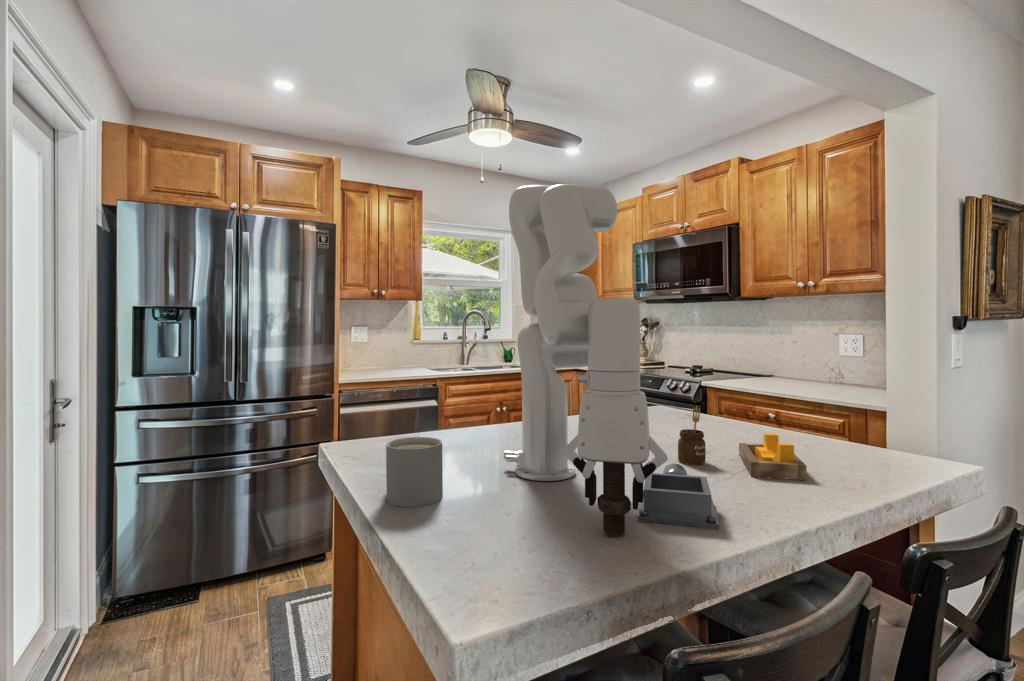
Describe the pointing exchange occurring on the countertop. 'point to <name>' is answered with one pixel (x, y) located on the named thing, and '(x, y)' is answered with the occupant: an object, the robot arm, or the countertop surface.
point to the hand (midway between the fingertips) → (613, 503)
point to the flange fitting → (677, 499)
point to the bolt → (614, 499)
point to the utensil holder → (692, 444)
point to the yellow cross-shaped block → (774, 450)
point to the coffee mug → (414, 471)
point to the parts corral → (770, 465)
